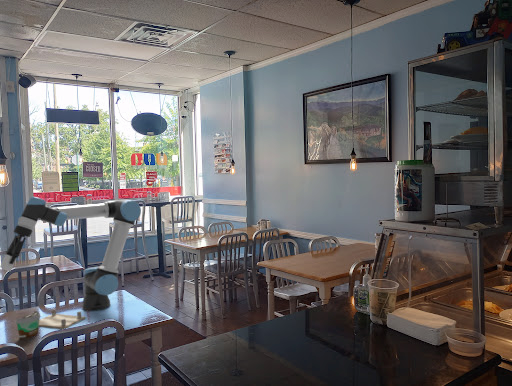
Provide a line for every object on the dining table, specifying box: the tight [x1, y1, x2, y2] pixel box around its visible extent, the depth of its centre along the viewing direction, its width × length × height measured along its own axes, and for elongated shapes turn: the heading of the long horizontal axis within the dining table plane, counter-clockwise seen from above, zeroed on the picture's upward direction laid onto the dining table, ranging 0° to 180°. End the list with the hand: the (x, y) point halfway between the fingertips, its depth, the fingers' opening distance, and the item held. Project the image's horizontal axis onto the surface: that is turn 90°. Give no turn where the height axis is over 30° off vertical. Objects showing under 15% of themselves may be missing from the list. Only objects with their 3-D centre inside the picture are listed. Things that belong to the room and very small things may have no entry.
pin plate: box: [39, 308, 86, 330], centre depth 211 cm, size 15×21×4 cm
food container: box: [15, 310, 41, 340], centre depth 193 cm, size 12×6×10 cm, turn 168°
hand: (4, 269), depth 190 cm, fingers open, 13 cm apart
